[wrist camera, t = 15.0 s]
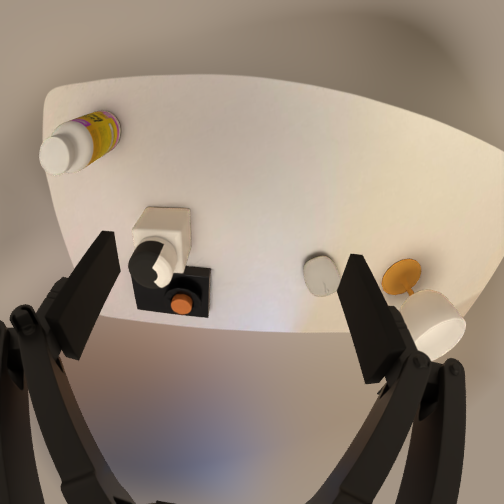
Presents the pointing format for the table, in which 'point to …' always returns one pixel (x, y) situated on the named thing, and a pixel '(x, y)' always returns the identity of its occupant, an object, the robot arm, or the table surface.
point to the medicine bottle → (160, 246)
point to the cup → (424, 311)
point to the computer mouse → (321, 276)
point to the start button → (181, 304)
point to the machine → (177, 292)
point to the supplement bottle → (79, 143)
